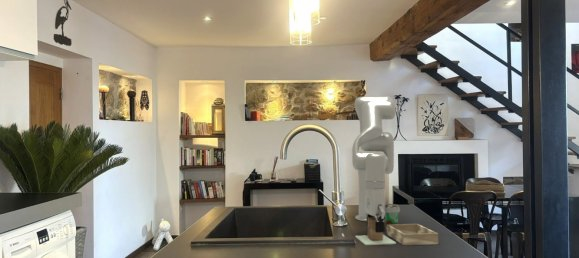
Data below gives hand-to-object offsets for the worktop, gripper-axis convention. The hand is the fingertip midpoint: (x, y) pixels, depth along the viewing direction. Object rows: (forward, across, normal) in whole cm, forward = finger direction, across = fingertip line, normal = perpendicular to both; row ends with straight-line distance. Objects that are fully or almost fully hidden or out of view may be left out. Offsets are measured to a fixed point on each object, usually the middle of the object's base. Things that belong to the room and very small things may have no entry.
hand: (375, 229), depth 157 cm
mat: (+4, 0, 0) cm, 4 cm away
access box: (+4, 0, +15) cm, 16 cm away
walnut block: (+4, 0, 0) cm, 4 cm away
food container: (+5, -18, +15) cm, 24 cm away
